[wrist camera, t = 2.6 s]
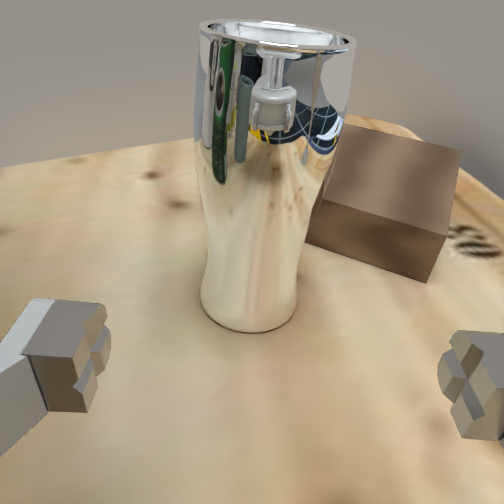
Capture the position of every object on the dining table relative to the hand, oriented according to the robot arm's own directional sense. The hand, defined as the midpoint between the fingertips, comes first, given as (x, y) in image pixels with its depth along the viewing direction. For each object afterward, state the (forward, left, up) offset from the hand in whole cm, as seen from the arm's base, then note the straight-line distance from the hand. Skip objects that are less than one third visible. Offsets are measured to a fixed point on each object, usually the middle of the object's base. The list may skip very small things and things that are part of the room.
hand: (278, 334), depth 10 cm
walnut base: (-4, +28, -10) cm, 30 cm away
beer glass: (-5, +11, -10) cm, 16 cm away
